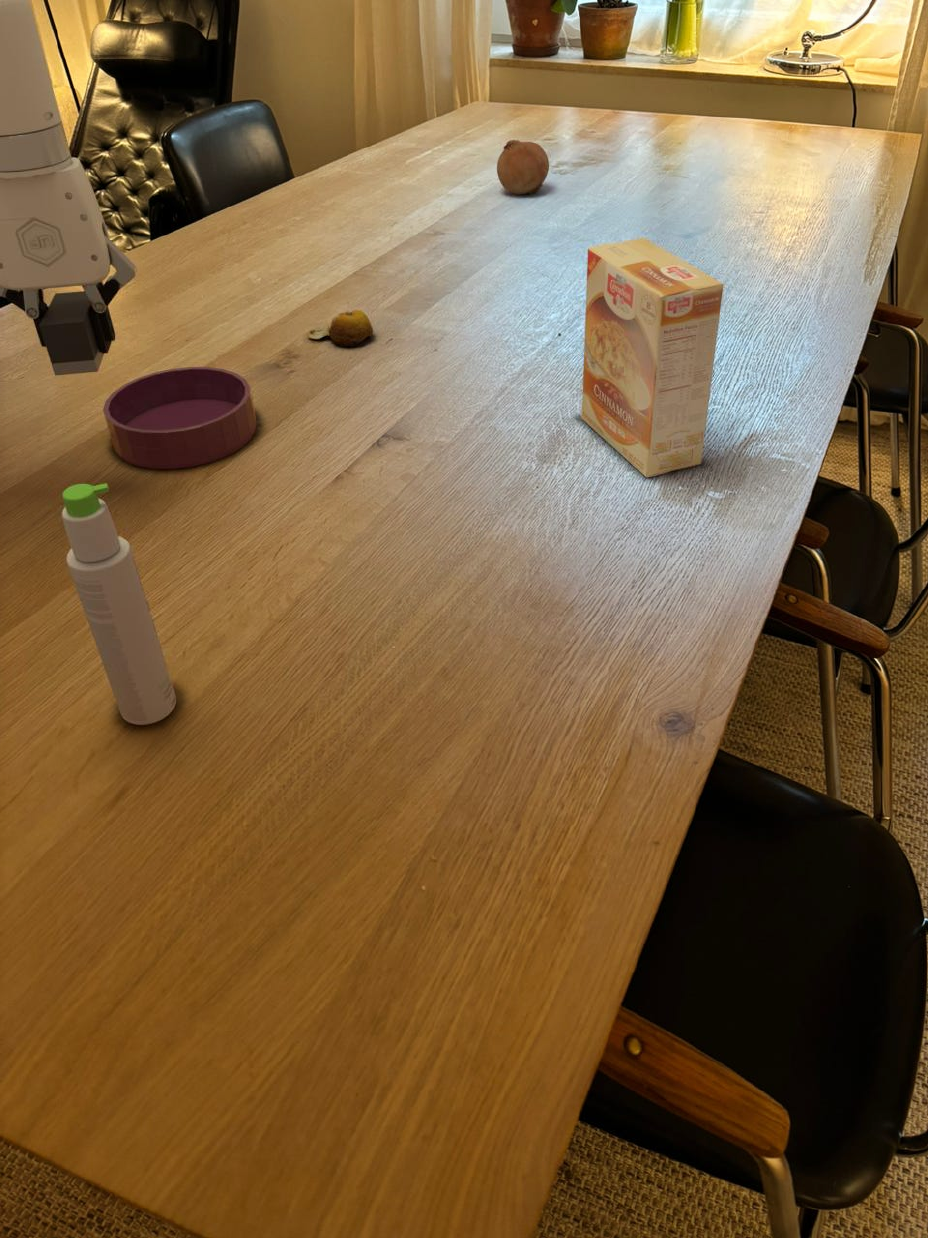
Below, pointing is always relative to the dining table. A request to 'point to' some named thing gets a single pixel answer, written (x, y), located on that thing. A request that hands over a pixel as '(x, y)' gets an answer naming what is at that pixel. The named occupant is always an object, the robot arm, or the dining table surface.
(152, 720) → the bottle
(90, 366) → the eraser
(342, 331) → the fruit
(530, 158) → the onion
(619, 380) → the coffeecake box
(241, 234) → the dining table surface
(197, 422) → the bowl
